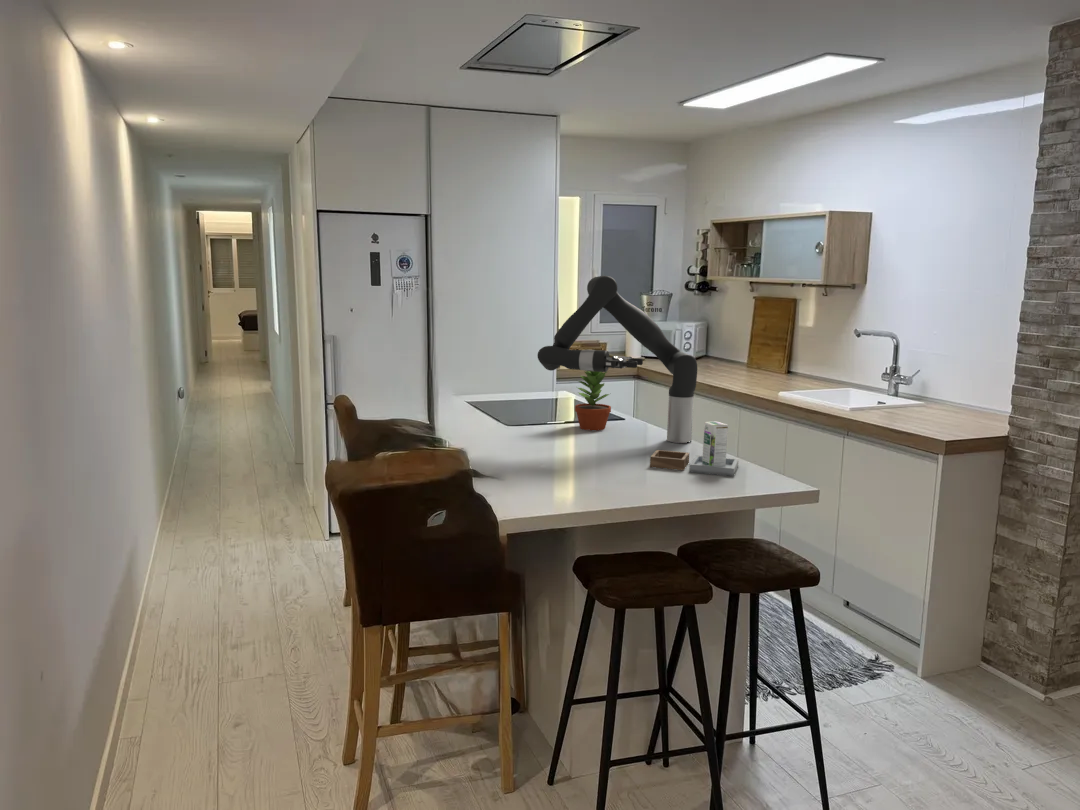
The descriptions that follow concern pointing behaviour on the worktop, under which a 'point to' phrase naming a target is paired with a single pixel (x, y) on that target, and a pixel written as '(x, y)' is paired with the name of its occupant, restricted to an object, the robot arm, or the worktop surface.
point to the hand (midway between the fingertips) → (639, 363)
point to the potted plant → (592, 403)
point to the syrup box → (715, 444)
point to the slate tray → (714, 467)
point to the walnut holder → (669, 459)
